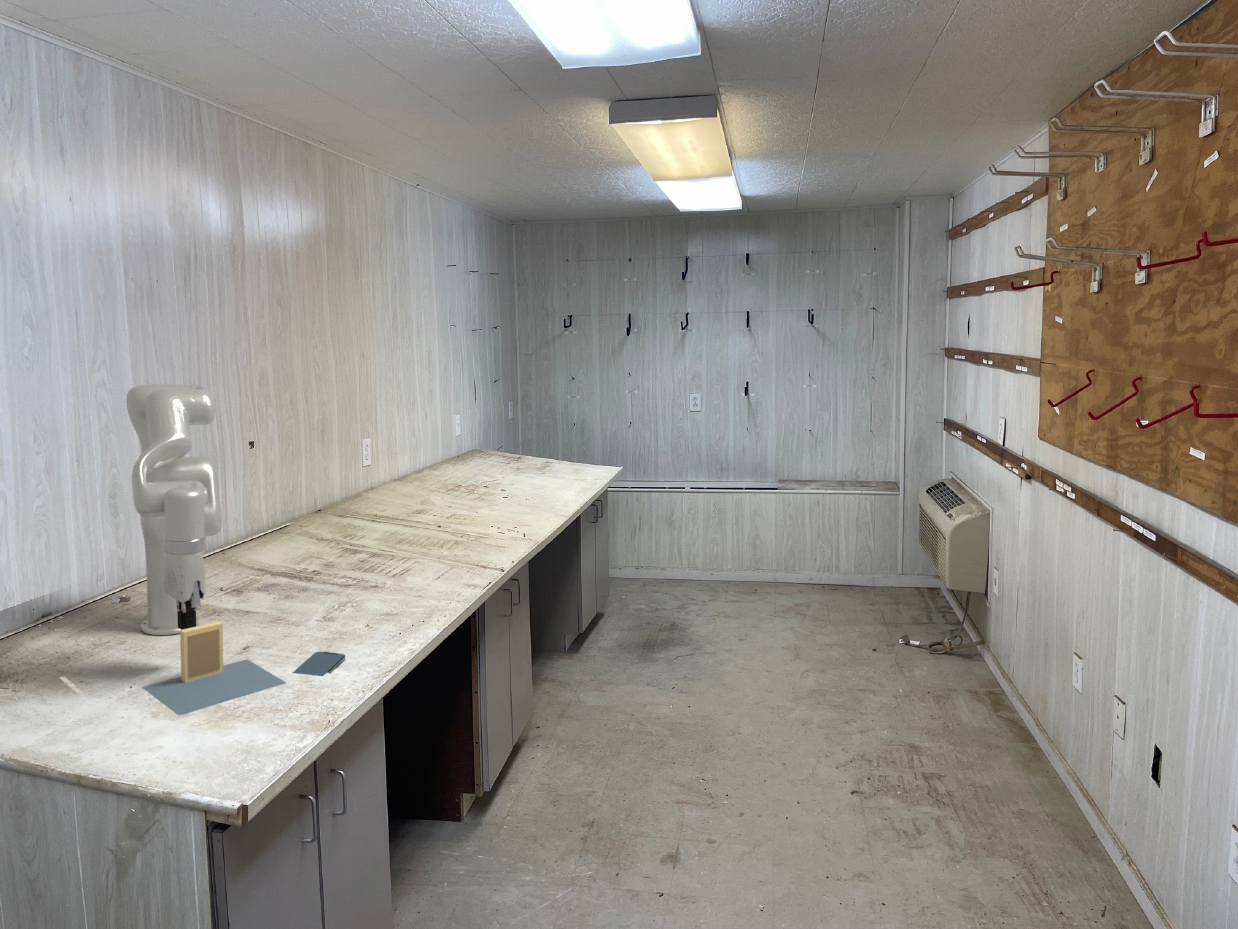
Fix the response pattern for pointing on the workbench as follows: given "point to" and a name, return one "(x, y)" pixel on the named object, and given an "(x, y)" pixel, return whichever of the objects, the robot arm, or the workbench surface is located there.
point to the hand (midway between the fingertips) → (187, 627)
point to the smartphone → (320, 664)
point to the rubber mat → (214, 687)
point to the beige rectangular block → (201, 651)
